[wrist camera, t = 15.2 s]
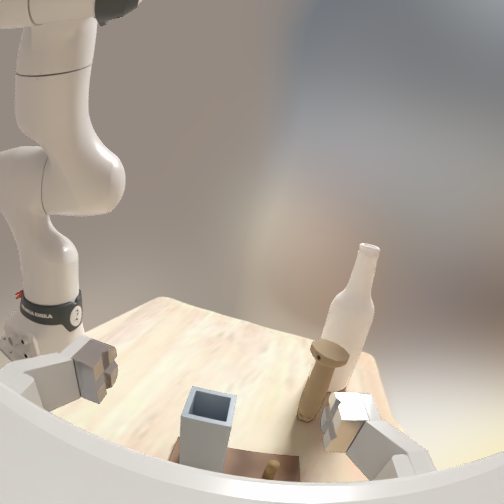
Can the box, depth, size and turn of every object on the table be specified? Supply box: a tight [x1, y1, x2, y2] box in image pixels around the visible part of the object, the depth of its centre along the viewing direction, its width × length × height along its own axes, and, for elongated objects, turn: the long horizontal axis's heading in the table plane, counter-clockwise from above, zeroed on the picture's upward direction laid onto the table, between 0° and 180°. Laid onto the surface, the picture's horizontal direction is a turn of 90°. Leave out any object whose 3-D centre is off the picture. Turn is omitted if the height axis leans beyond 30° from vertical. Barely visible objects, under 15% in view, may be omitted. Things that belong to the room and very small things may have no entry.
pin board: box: [170, 437, 300, 482], centre depth 31 cm, size 18×9×4 cm, turn 86°
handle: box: [297, 339, 350, 422], centre depth 44 cm, size 5×6×15 cm
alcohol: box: [309, 243, 380, 392], centre depth 54 cm, size 9×9×30 cm
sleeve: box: [179, 386, 237, 473], centre depth 30 cm, size 6×6×13 cm
